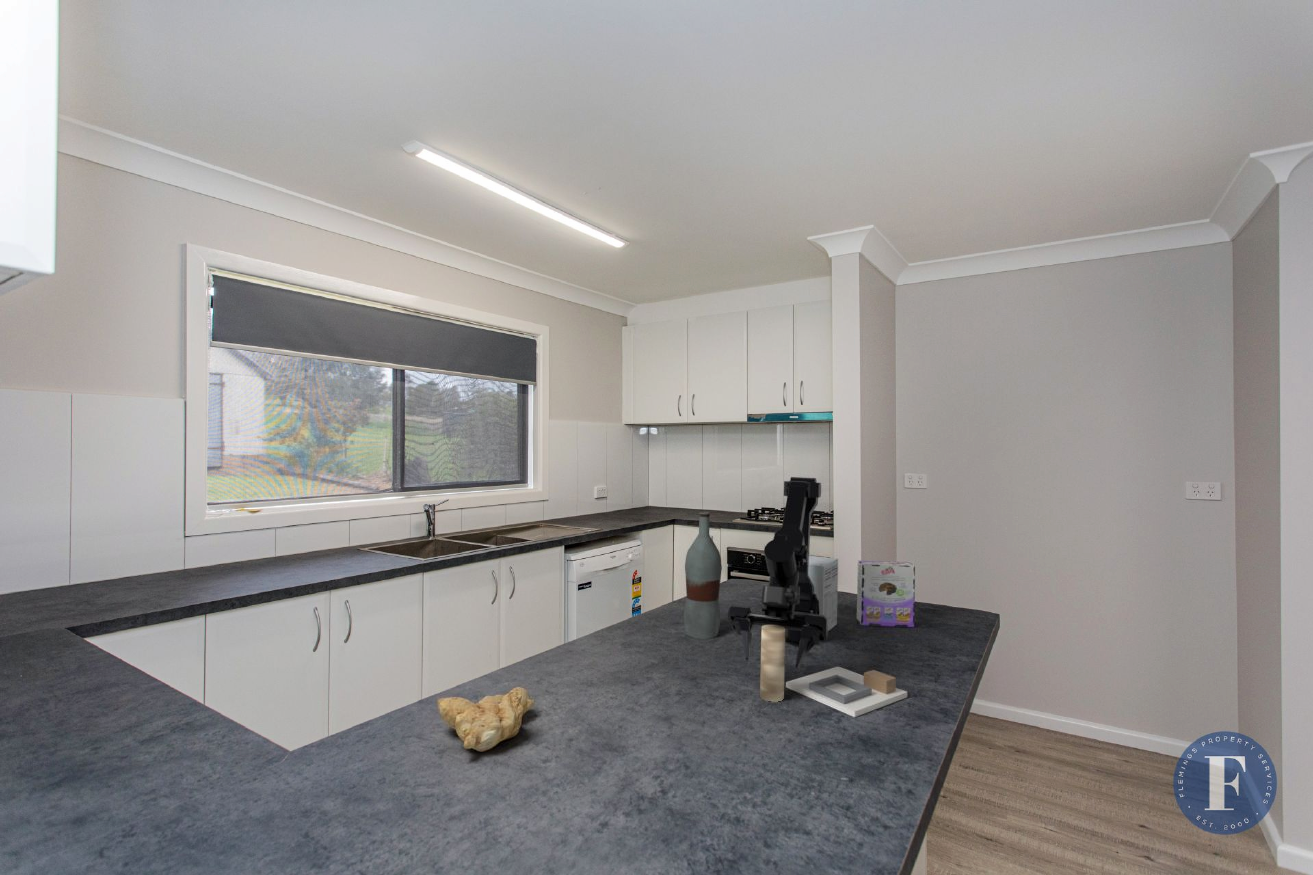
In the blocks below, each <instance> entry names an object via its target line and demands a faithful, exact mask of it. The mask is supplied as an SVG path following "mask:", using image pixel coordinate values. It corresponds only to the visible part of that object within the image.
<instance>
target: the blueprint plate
mask: <svg viewBox="0 0 1313 875" xmlns="http://www.w3.org/2000/svg"><path fill="white" fill-rule="evenodd" d="M896 684H897V678H896V677H894V676H892V675H889V674H886V673H883V672H882V671H881V672H880V671H878V670H875V669H871V670H868V671H866V672H865V671H864V672H863V674H860V673H857V672H855V671H852V670H850V669H846V668H843V667H840V666H835V667H832V668H829V669H825V670H822V671H819V672H815V673H812V674H808V675H804V676H802V677H798V678H795V679H792V680H789V681H786V682H785V688H787V689H789V690H791V691H794V692H796V693H798V694H800V695H803V696H805V697H808V698H810V699H813V700H814V701H817V702H819V703H821V704H824V705H826V706H828V707H829V708H830V707H831V708H833V709H835V710H837V711H839V712H842V713H844V714H847V715H848V716H851V717H853V718H856V717H860V716H861V715H864V714H867V713H869V712H872V711H875V710H877V709H880V708H882V707H885V706H888V705H890V704H893V703H896V702H898V701H900V700H903V699H907V698H908V691H906V690H904V689H900V688H897V687H896V686H897V685H896Z"/></svg>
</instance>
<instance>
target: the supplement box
mask: <svg viewBox="0 0 1313 875" xmlns="http://www.w3.org/2000/svg"><path fill="white" fill-rule="evenodd" d="M808 576H809V577H810V579H811V581H812V583H813V585H814V594H816V595H817V599H818V600H819V608H820V615H824V616H825V617H826V618H827V625H828V632H829V631H830V630H832V629H833V628H834V627H835V626H836V625H837V624H838V588H839V587H838V585H839V584H838V582H839V580H838V578H839V558H833V557H824V556H815V555H809V568H808ZM811 612H813V611H811Z"/></svg>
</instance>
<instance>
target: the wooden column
mask: <svg viewBox="0 0 1313 875" xmlns="http://www.w3.org/2000/svg"><path fill="white" fill-rule="evenodd" d="M760 634H761V635H760V636H761V639H760V640H761V641H760V642H761V643H760V677H759V678H760V679H759V680H760V682H759V685H760V686H759V697H761V698H760V699H761V700H762V699H763V700H762V701H764V700H765V701H764V702H768V701H771V702H770V703H779V702H778V701H781V702H783V701H784V700H783V699H785V665H786V664H785V663H786V657H785V656H786V642H785V628H784V627H782V626H779V625H764V626H762V625H761V633H760ZM782 700H783V701H782Z"/></svg>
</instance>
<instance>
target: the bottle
mask: <svg viewBox="0 0 1313 875" xmlns="http://www.w3.org/2000/svg"><path fill="white" fill-rule="evenodd" d="M698 514H699V518H698V519H699V523H698V534H697V535H696V538H695V539H694V540H693V541H692V544H691V545H690V546H689V548H688V549H687V551H686V555H685V561H684V562H685V563H684V571H685V572H684V573H685V589H686V590H685V591H686V598H685V603H684V611H683V624H684V625H683V626H684V632H685V635H686V636H688V637H690V638H694V639H699V640H701V639H702V640H706V639H707V640H708V639H714V638H716V637H718V635H719V630H720V627H721V620H722V619H721V618H722V617H721V609H720V600H719V597H720V586H721V577H722V570H723V568H722V566H723V565H722V556H721V552H720V551H719V549H718V547H717V546H716V544H715V542H714V540H713V539H712V537H711V535H710V514H711V513H710V512H708V511H701V512H698Z"/></svg>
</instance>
